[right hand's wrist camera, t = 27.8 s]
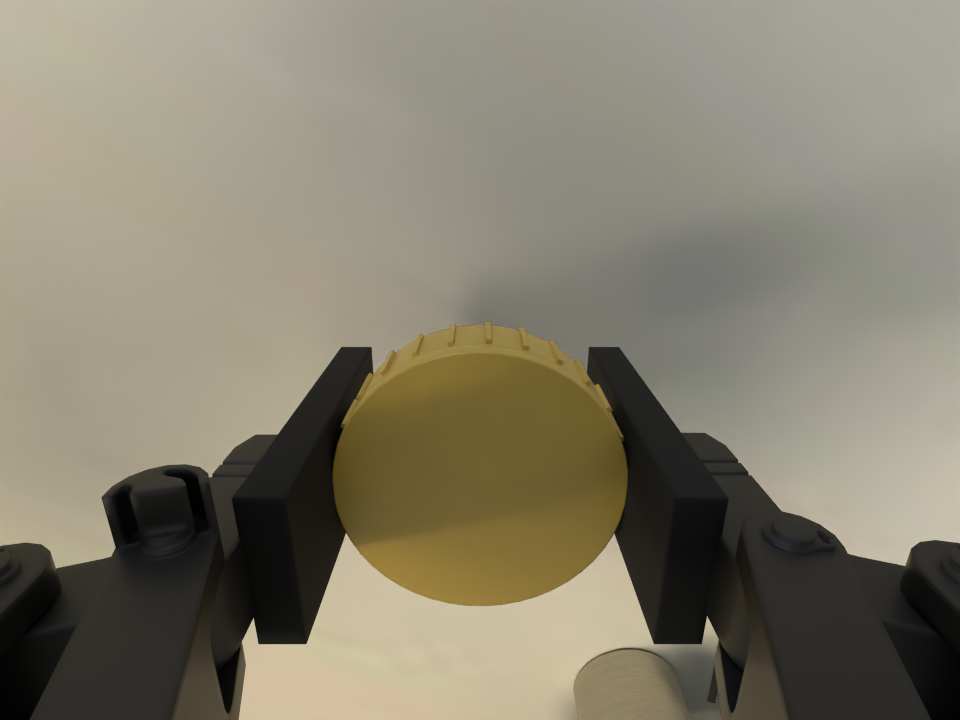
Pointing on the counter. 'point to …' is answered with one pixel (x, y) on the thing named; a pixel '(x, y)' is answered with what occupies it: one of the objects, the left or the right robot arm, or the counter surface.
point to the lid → (480, 467)
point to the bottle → (629, 688)
